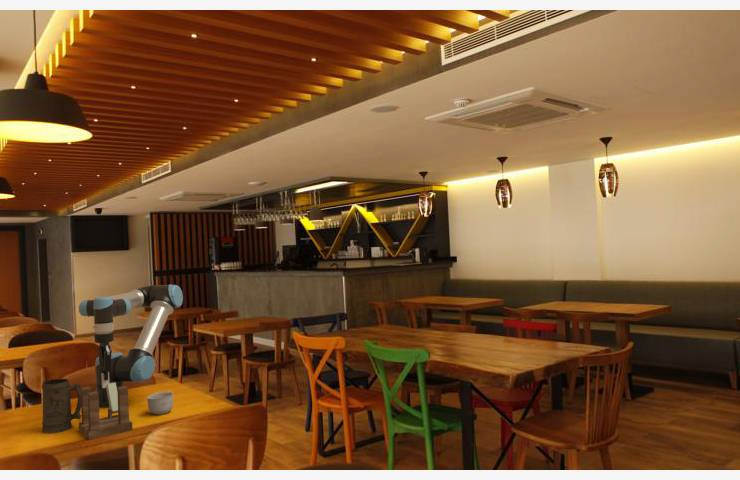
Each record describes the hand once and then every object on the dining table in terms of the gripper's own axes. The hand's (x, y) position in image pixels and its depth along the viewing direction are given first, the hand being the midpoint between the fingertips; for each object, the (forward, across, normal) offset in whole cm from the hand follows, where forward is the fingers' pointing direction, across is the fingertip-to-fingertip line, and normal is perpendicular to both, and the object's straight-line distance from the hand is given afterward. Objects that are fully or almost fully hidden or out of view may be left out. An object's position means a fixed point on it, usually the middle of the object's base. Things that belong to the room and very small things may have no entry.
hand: (105, 387), depth 249 cm
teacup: (+13, +10, +21) cm, 27 cm away
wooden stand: (+13, +19, -5) cm, 23 cm away
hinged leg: (+8, +13, 0) cm, 16 cm away
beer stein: (+13, +3, -17) cm, 22 cm away
